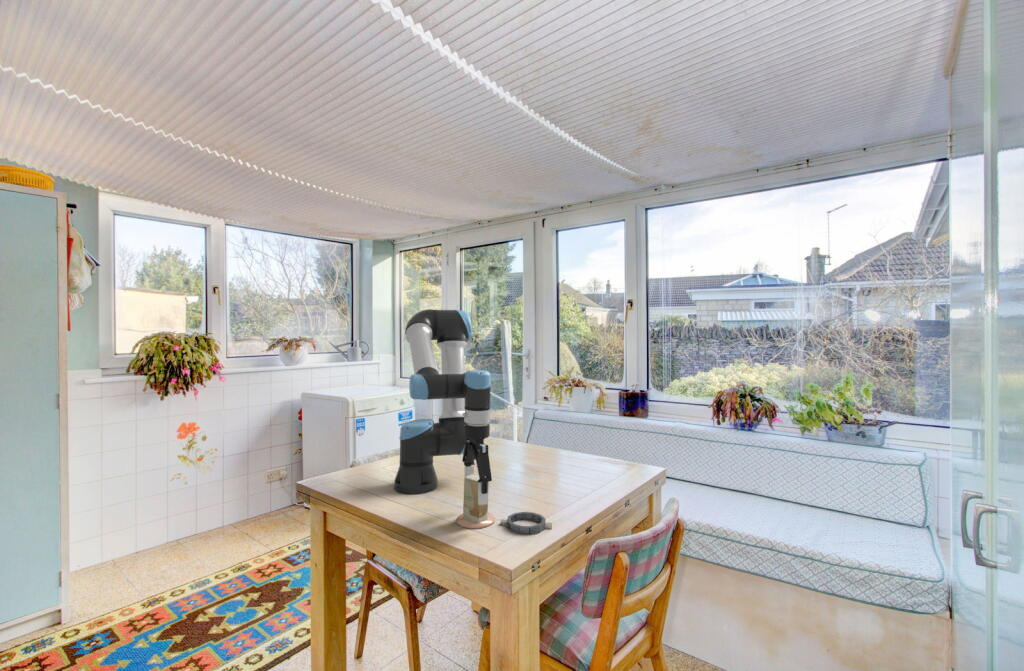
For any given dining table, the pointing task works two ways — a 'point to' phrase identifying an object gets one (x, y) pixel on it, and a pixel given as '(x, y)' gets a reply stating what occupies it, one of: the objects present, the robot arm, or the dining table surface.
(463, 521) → the peach dome button
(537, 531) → the bayonet collar
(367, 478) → the dining table surface
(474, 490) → the skincare box
